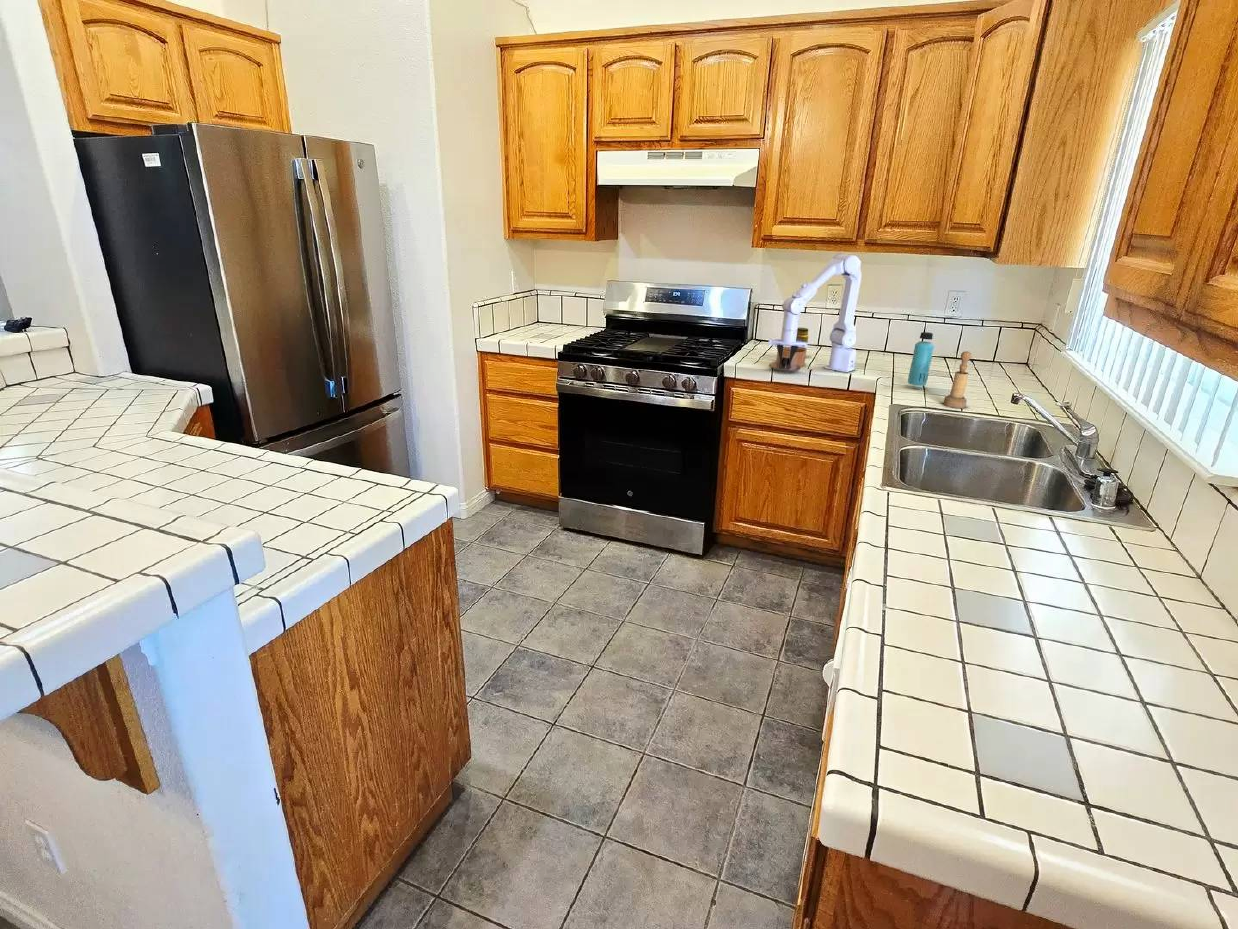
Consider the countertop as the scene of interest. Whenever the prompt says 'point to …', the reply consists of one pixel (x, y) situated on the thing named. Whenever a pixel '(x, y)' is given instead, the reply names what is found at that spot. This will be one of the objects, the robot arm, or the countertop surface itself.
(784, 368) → the pot lid
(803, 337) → the condiment
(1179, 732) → the countertop surface
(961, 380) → the mortar and pestle
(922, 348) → the beverage bottle
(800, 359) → the terracotta bowl
